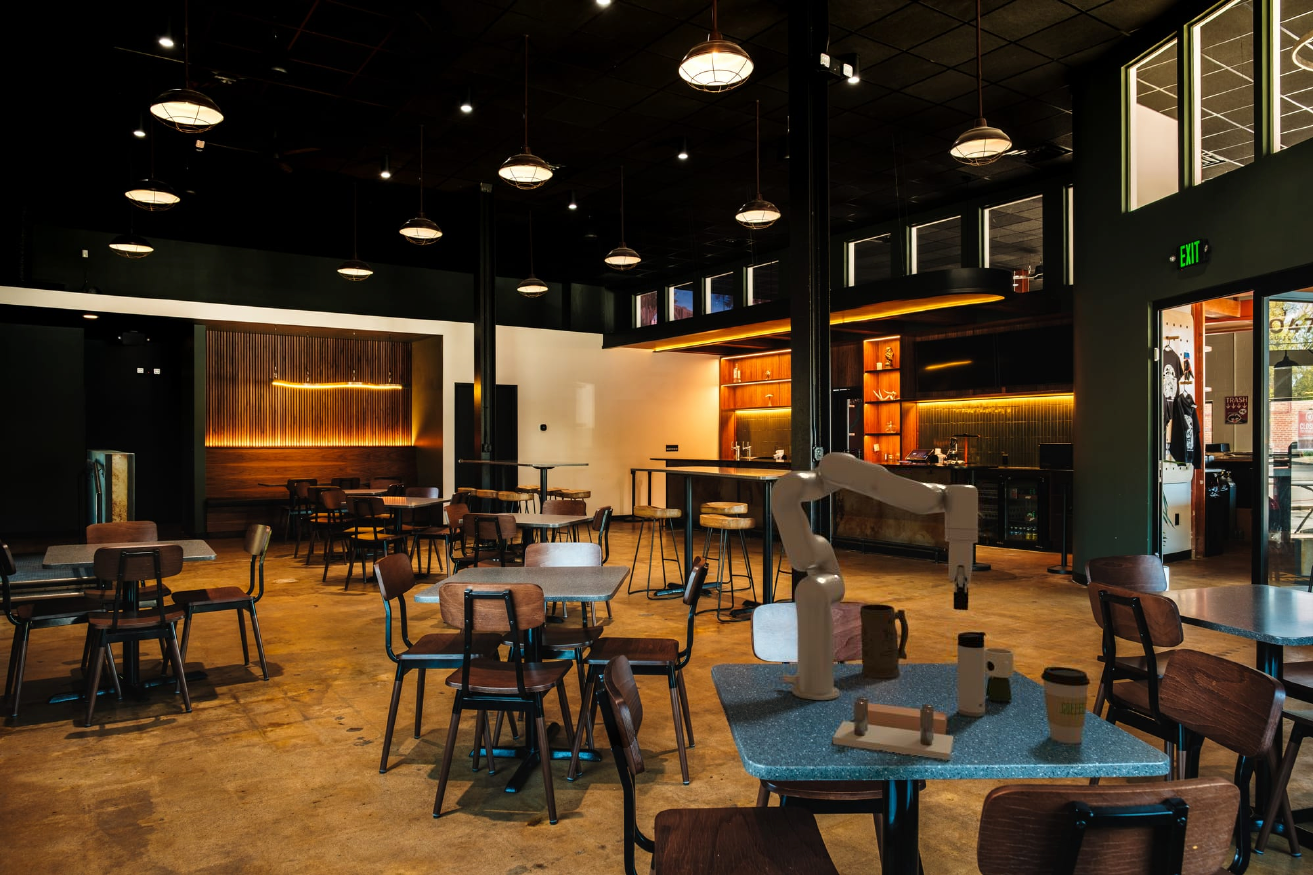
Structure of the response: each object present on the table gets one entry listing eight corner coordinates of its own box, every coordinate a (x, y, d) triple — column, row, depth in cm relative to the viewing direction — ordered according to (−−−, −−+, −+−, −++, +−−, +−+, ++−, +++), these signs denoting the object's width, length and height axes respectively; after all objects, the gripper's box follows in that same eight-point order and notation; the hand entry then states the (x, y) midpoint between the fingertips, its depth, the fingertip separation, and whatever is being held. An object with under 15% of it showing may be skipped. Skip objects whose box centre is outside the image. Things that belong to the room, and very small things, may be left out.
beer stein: (878, 681, 225) (877, 610, 226) (852, 672, 235) (852, 604, 235) (917, 675, 232) (917, 606, 233) (891, 667, 242) (890, 601, 243)
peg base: (833, 743, 173) (833, 736, 173) (843, 727, 184) (843, 721, 184) (950, 760, 163) (949, 753, 163) (953, 742, 174) (953, 735, 174)
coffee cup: (1089, 749, 171) (1088, 679, 172) (1039, 740, 176) (1038, 672, 177) (1092, 736, 179) (1091, 669, 180) (1044, 728, 185) (1043, 663, 185)
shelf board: (855, 725, 187) (855, 708, 187) (859, 718, 192) (859, 701, 192) (944, 737, 179) (944, 720, 179) (946, 730, 184) (946, 712, 184)
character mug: (977, 694, 213) (976, 645, 213) (1003, 694, 213) (1003, 646, 213) (993, 706, 202) (993, 655, 202) (1021, 706, 202) (1021, 655, 202)
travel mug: (988, 718, 192) (988, 635, 193) (960, 716, 194) (959, 633, 194) (983, 710, 198) (983, 630, 199) (955, 708, 200) (955, 628, 200)
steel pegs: (853, 735, 174) (853, 702, 174) (857, 727, 180) (857, 696, 180) (931, 746, 168) (931, 712, 168) (934, 737, 173) (933, 705, 173)
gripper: (946, 532, 202) (945, 599, 201) (943, 537, 186) (943, 611, 185) (977, 533, 199) (977, 602, 198) (978, 539, 183) (977, 613, 182)
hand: (961, 606), depth 191 cm, fingers open, 9 cm apart
